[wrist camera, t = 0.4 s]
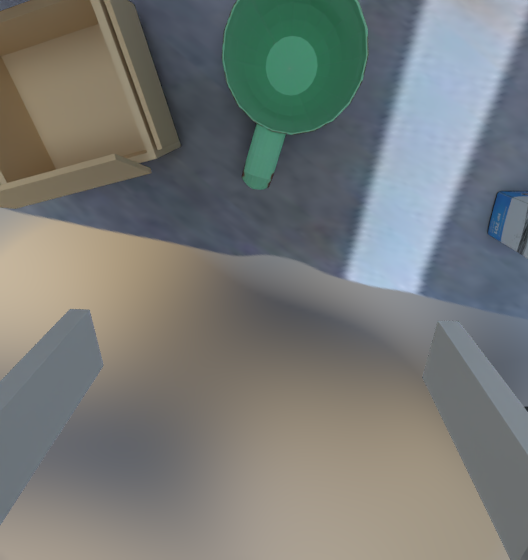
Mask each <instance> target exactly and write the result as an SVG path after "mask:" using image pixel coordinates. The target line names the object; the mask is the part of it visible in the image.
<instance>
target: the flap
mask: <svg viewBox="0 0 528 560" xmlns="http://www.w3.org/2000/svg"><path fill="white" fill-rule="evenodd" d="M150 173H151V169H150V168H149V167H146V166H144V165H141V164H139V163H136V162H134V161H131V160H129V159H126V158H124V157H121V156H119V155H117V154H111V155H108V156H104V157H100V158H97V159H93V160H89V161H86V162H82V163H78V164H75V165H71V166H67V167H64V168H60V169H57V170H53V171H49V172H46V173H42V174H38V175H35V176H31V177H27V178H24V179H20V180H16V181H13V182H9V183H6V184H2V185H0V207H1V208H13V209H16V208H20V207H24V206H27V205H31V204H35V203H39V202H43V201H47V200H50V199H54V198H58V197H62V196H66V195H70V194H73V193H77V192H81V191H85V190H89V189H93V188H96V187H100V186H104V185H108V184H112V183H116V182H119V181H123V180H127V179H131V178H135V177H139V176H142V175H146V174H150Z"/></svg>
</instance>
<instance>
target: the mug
mask: <svg viewBox="0 0 528 560" xmlns="http://www.w3.org/2000/svg"><path fill="white" fill-rule="evenodd" d="M368 55H369V52H368V27H367V24H366V21H365V18H364V15H363V13H362V10H361V7H360V4H359V1H358V0H237V1H236V2H235V3H234V5H233V7H232V10H231V13H230V16H229V18H228V21H227V24H226V26H225V29H224V36H223V48H222V62H223V67H224V72H225V77H226V83H227V85H228V87H229V89H230V91H231V93H232V95H233V97H234V99H235V101H236V103H237V105H238V106H239V107H240V108H241V109H242V110H243V111H244V112H245V113H246V114H247V116H248V117H249V118H250V119H251V120H252V121H253V122H255V123H257V124H256V128H255V131H254V135H253V138H252V142H251V145H250V149H249V152H248V156H247V159H246V163H245V167H244V170H243V174H242V179H243V180H244V182H245V183H246V184H247V185H248V186H249V187H251V188H253V189H259V190H263V189H266V188H268V187H269V185H270V183H271V180H272V177H273V174H274V171H275V168H276V165H277V162H278V158H279V155H280V152H281V149H282V145H283V142H284V139H285V136H286V134H290V135H295V134H301V133H306V132H312V131H315V130H317V129H319V128H321V127H322V126H324V125H326V124H328V123H330V122H332V121H334V120H335V118H336V117H337V116H338V115H339V114H340V113H341V112H342V111H343V110H344V109H345V108H346V107H347V106H348V105H349V104H350V103H351V101H352V99H353V98H354V96H355V94H356V92H357V90H358V88H359V86H360V85H361V83H362V81H363V77H364V72H365V68H366V64H367V60H368Z"/></svg>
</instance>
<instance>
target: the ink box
mask: <svg viewBox="0 0 528 560" xmlns="http://www.w3.org/2000/svg"><path fill="white" fill-rule="evenodd" d="M488 234H489V235H490V236H492V237H494V238H495V239H497V240H499V241H500V242H502V243H503V244H505V245H507V246H508V247H510V248H511V249H513V250H515V251H516V252H518V253H520V254H521V255H523V256H525V257H526V258H528V192H506V191H501V192H499V193H498V194H497V198H496V201H495V205H494V209H493V212H492V216H491V220H490V225H489V230H488Z"/></svg>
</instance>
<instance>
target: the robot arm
mask: <svg viewBox="0 0 528 560" xmlns="http://www.w3.org/2000/svg"><path fill="white" fill-rule="evenodd" d="M102 367H103V361H102V357H101V353H100V349H99V345H98V342H97V337H96V333H95V329H94V326H93V322H92V318H91V314H90V310H83V309H82V310H81V309H70V310H69V311H68V312H67V313H66V314H65V315H64V316H63V317H62V318H61V319H60V320H59V321H58V322H57V323H56V324H55V325H54V326H53V327H52V328H51V329H50V330H49V331H48V332H47V333H46V334H45V335H44V336H43V338H42V339H41V340H40V341H39V342H38V343H37V344H36V345H35V346H34V347H33V348H32V349H31V350H30V351H29V352H28V353H27V354H26V355H25V356H24V357H23V358H22V359H21V360H20V361H19V362H18V363H17V364H16V365H15V366H14V367H13V369H12V370H11V371H10V372H9V373H8V374H7V375H6V376H5V377H4V378H3V379H2V380H1V381H0V525H1V523H2V522H3V520H4V519H5V517H6V516H7V514H8V513H9V511H10V509H11V508H12V506H13V505H14V503H15V502H16V500H17V499H18V497H19V496H20V494H21V493H22V491H23V489H24V488H25V486H26V485H27V483H28V482H29V480H30V479H31V477H32V476H33V474H34V472H35V471H36V469H37V468H38V466H39V465H40V463H41V462H42V460H43V459H44V457H45V455H46V454H47V452H48V451H49V449H50V448H51V446H52V445H53V443H54V442H55V440H56V438H57V437H58V435H59V434H60V432H61V431H62V429H63V428H64V426H65V425H66V423H67V421H68V420H69V418H70V417H71V415H72V414H73V412H74V411H75V409H76V408H77V406H78V404H79V403H80V401H81V400H82V398H83V397H84V395H85V393H86V392H87V391H88V389H89V387H90V386H91V384H92V383H93V381H94V380H95V378H96V377H97V375H98V373H99V372H100V370H101V369H102ZM422 378H423V380H424V382H425V384H426V386H427V388H428V390H429V392H430V394H431V396H432V399H433V400H434V403H435V405H436V407H437V409H438V411H439V413H440V415H441V417H442V419H443V421H444V423H445V425H446V427H447V430H448V432H449V434H450V436H451V438H452V440H453V442H454V444H455V446H456V448H457V450H458V452H459V454H460V456H461V459H462V461H463V463H464V465H465V467H466V469H467V471H468V473H469V475H470V477H471V479H472V481H473V483H474V485H475V487H476V489H477V492H478V493H479V496H480V498H481V500H482V502H483V504H484V506H485V508H486V510H487V512H488V514H489V516H490V518H491V521H492V522H493V525H494V527H495V529H496V531H497V533H498V535H499V537H500V539H501V541H502V543H503V545H504V547H505V550H506V552H507V554H508V556H509V558H510V560H528V407H524V406H523V405H522V404H521V403H520V401H519V400H518V399H517V397H516V396H515V395H514V393H513V392H512V391H511V389H510V388H509V387H508V385H507V384H506V383H505V381H504V380H503V379H502V378H501V376H500V375H499V374H498V372H497V371H496V369H495V368H494V367H493V366H492V364H491V363H490V362H489V360H488V359H487V358H486V356H485V355H484V354H483V352H482V351H481V350H480V349H479V347H478V346H477V344H476V343H475V342H474V341H473V339H472V338H471V337H470V335H469V334H468V333H467V331H466V330H465V329H464V327H463V326H462V325H461V323H460V322H459V321H438V322H437V326H436V329H435V333H434V337H433V340H432V344H431V348H430V351H429V355H428V359H427V362H426V366H425V369H424V373H423V377H422Z"/></svg>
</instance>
